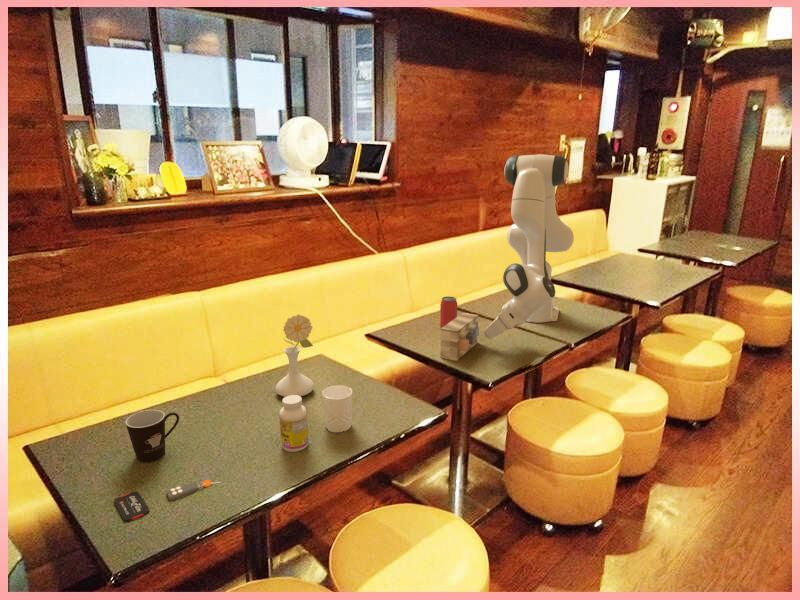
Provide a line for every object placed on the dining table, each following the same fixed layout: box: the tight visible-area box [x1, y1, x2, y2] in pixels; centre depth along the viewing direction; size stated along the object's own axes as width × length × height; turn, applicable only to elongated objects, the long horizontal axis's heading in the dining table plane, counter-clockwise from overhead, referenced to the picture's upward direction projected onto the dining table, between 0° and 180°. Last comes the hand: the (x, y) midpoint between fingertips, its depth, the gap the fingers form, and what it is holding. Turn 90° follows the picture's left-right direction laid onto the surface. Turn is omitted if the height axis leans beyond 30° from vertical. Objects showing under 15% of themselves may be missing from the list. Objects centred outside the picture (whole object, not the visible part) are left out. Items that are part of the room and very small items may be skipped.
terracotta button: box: [458, 339, 469, 351], centre depth 190 cm, size 3×3×3 cm
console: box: [440, 312, 479, 362], centre depth 197 cm, size 19×6×11 cm, turn 151°
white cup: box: [321, 384, 353, 433], centre depth 147 cm, size 8×8×10 cm
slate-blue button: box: [473, 326, 480, 337], centre depth 201 cm, size 3×3×3 cm
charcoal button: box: [466, 333, 476, 345], centre depth 195 cm, size 3×3×3 cm
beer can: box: [439, 296, 458, 329], centre depth 218 cm, size 7×7×12 cm
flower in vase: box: [274, 313, 315, 398], centre depth 163 cm, size 13×11×25 cm
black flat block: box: [113, 491, 150, 523], centre depth 117 cm, size 10×1×5 cm
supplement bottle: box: [278, 395, 309, 453], centre depth 138 cm, size 7×7×13 cm
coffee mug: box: [124, 409, 180, 464], centre depth 135 cm, size 12×9×10 cm
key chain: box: [166, 479, 222, 502], centre depth 124 cm, size 13×4×2 cm, turn 125°
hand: (486, 334), depth 199 cm, fingers closed
